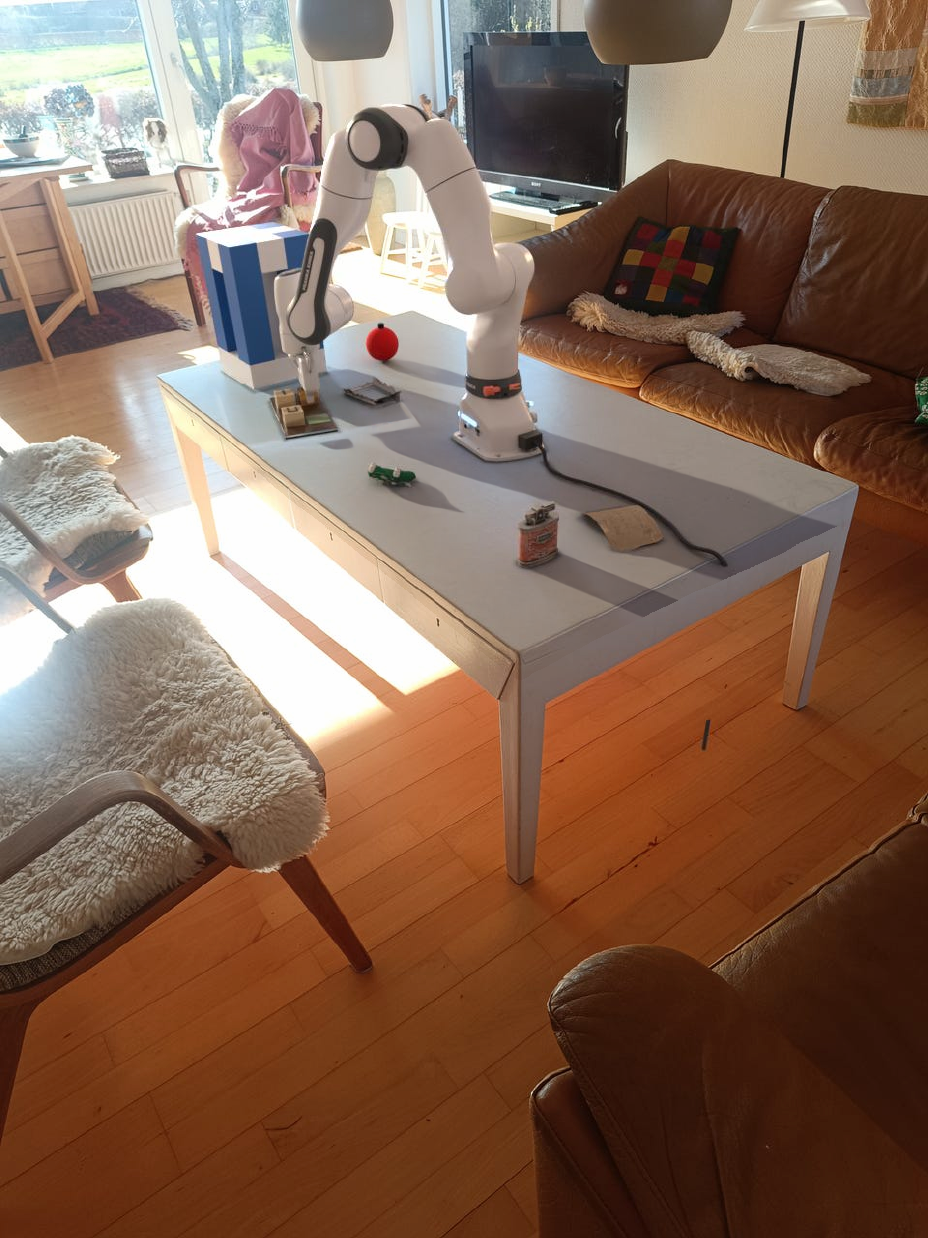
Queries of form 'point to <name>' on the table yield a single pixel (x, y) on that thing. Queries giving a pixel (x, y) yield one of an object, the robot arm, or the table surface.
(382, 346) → the ornament
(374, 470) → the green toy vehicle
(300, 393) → the letter s tile
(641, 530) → the clay tablet
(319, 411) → the letter board
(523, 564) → the lighter
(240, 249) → the toy block
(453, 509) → the table surface
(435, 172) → the robot arm
